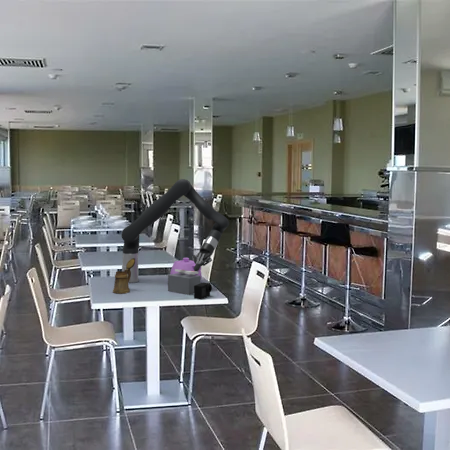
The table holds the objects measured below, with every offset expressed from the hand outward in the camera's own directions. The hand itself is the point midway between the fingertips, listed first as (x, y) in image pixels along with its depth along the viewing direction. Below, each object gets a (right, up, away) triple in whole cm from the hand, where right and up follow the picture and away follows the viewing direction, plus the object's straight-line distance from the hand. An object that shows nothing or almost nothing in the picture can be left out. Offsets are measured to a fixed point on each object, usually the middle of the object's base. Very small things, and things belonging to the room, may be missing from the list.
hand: (195, 270), depth 326 cm
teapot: (-7, -9, +24) cm, 27 cm away
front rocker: (-2, -2, -3) cm, 4 cm away
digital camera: (+5, -13, -14) cm, 20 cm away
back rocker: (-8, -2, +2) cm, 8 cm away
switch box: (-6, -12, -1) cm, 13 cm away
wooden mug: (-39, -12, -3) cm, 41 cm away
